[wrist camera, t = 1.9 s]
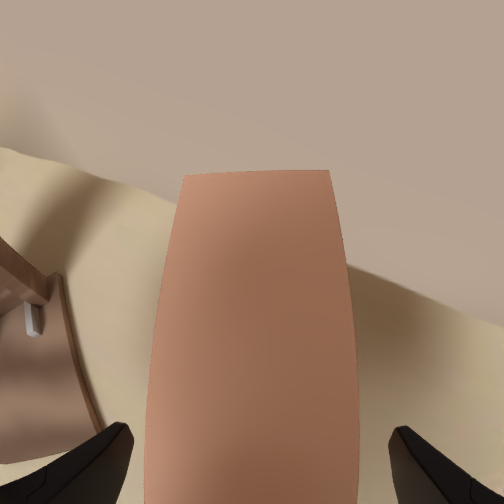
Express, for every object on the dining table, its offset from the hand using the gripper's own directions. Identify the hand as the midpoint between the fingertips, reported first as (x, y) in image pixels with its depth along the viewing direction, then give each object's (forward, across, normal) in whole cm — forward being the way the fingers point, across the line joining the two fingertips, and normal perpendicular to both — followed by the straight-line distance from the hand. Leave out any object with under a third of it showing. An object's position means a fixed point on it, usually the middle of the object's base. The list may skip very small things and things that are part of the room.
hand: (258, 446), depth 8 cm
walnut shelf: (+6, +19, +5) cm, 21 cm away
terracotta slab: (+8, 0, +4) cm, 8 cm away
